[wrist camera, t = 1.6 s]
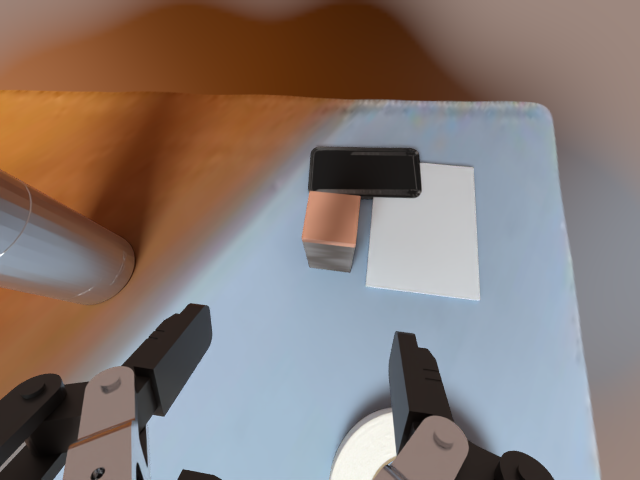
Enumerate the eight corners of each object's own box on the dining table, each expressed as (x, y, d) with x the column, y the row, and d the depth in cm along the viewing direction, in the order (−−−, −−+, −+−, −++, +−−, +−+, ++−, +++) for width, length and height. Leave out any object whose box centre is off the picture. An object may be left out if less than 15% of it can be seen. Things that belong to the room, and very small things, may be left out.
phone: (422, 197, 39) (307, 194, 40) (420, 201, 40) (308, 198, 41) (418, 147, 42) (311, 146, 43) (416, 152, 43) (311, 151, 44)
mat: (365, 286, 36) (365, 285, 35) (376, 161, 42) (376, 158, 42) (478, 300, 35) (480, 300, 34) (471, 169, 41) (473, 167, 41)
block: (309, 267, 37) (301, 237, 28) (315, 230, 39) (309, 190, 30) (350, 272, 37) (355, 244, 27) (354, 234, 38) (360, 195, 29)
